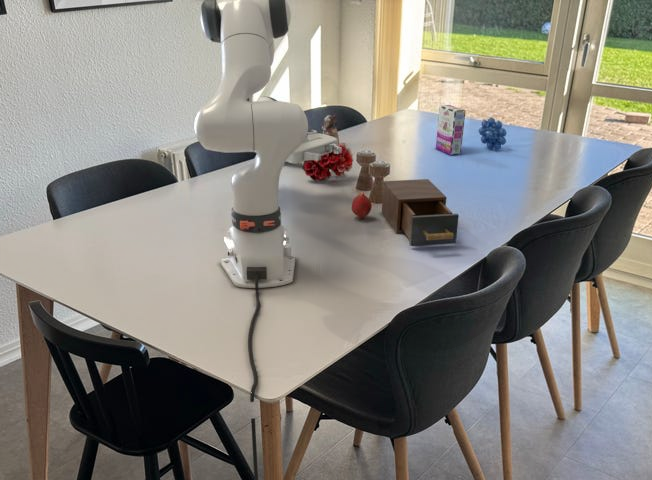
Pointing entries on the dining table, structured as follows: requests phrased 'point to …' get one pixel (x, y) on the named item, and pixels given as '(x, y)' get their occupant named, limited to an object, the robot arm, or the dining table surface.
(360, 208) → the onion
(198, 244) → the dining table surface
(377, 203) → the dining table surface
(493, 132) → the grapes
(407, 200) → the cabinet
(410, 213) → the drawer
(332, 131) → the figurine
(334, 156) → the carnation
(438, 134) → the candy bar box
